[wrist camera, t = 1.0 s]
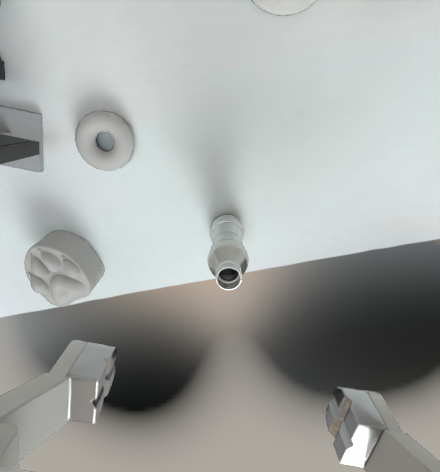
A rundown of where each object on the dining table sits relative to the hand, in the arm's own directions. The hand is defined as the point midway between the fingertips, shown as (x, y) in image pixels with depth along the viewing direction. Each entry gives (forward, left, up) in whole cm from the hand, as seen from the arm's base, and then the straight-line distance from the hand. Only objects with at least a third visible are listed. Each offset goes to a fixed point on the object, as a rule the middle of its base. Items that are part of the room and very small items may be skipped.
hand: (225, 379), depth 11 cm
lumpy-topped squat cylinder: (+25, -27, -49) cm, 61 cm away
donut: (0, -21, -49) cm, 53 cm away
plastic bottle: (+12, +3, -49) cm, 50 cm away
